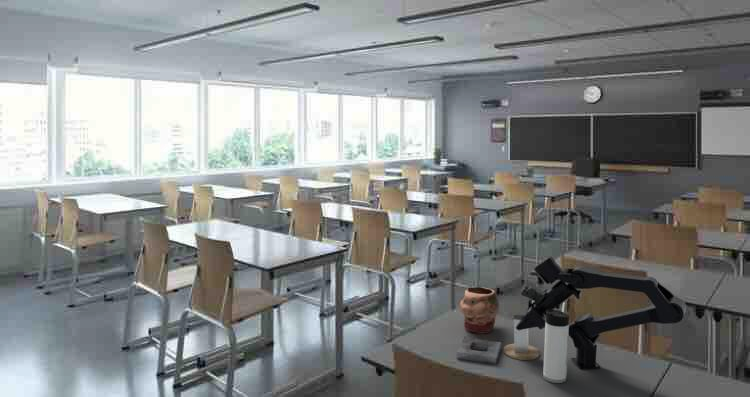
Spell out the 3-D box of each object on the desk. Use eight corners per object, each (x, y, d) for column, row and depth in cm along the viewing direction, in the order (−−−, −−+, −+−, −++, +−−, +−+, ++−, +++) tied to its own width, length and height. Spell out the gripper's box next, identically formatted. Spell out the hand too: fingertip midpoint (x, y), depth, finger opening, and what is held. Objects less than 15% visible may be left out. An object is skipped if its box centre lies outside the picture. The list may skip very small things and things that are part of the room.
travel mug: (537, 375, 156) (540, 309, 153) (556, 371, 158) (559, 306, 155) (551, 385, 150) (554, 316, 147) (570, 381, 153) (574, 313, 150)
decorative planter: (477, 315, 204) (478, 279, 202) (508, 322, 196) (509, 285, 194) (451, 332, 188) (452, 293, 186) (483, 340, 181) (484, 300, 178)
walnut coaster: (544, 359, 166) (545, 357, 166) (509, 360, 166) (509, 358, 165) (532, 344, 177) (532, 342, 177) (499, 345, 176) (499, 343, 176)
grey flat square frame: (500, 348, 174) (501, 342, 174) (495, 364, 163) (496, 357, 163) (463, 343, 179) (464, 337, 178) (456, 358, 167) (456, 352, 167)
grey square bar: (528, 348, 172) (528, 310, 170) (527, 353, 169) (527, 315, 166) (515, 346, 174) (515, 309, 172) (514, 352, 170) (513, 314, 168)
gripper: (539, 268, 175) (503, 297, 180) (535, 284, 158) (496, 316, 163) (564, 294, 173) (527, 322, 179) (562, 313, 156) (522, 344, 161)
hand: (517, 325), depth 171 cm, fingers open, 6 cm apart
